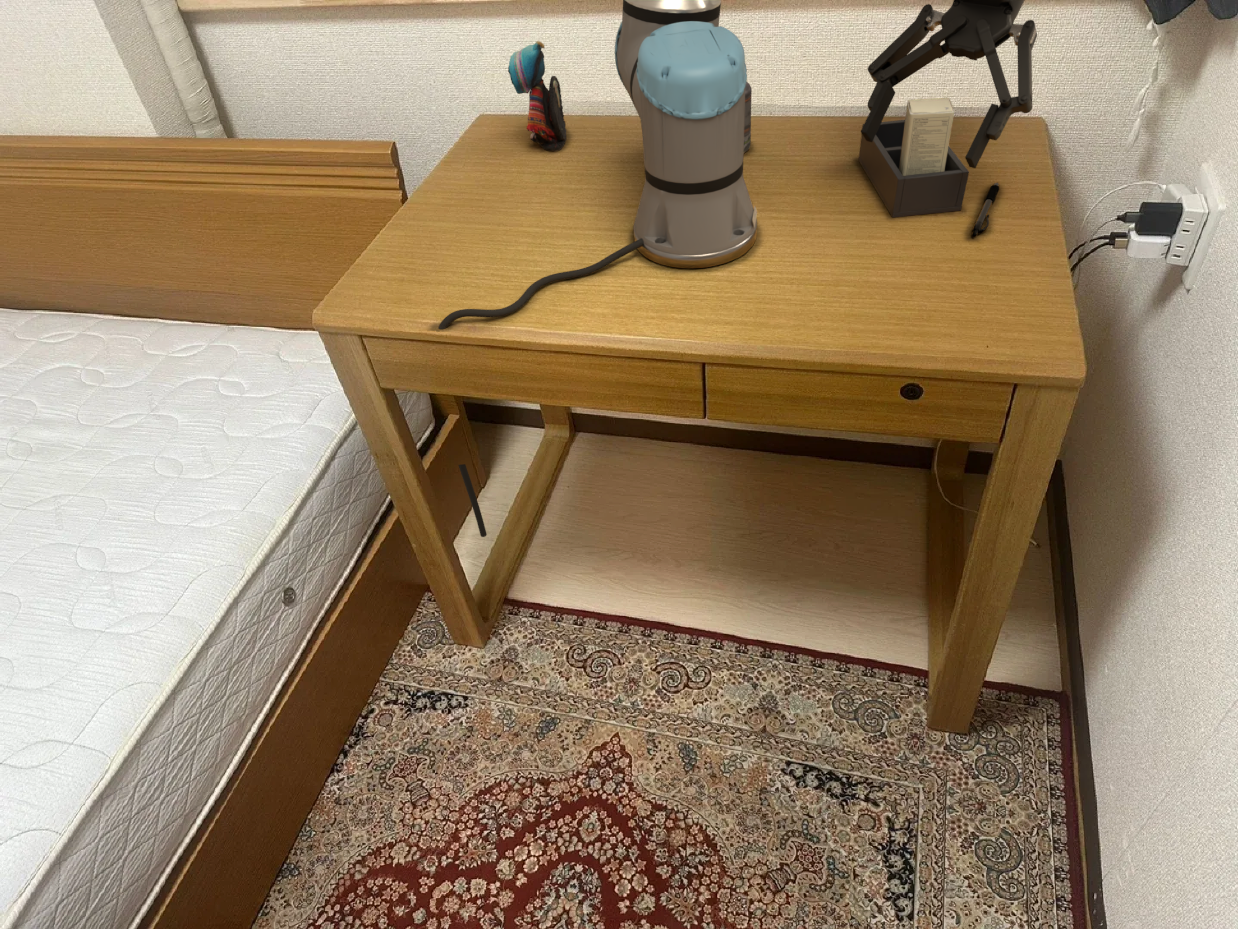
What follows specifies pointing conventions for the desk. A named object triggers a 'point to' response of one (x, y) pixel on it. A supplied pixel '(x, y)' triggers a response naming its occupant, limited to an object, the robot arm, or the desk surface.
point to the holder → (910, 176)
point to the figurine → (539, 97)
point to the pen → (985, 211)
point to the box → (926, 136)
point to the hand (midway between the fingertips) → (916, 149)
